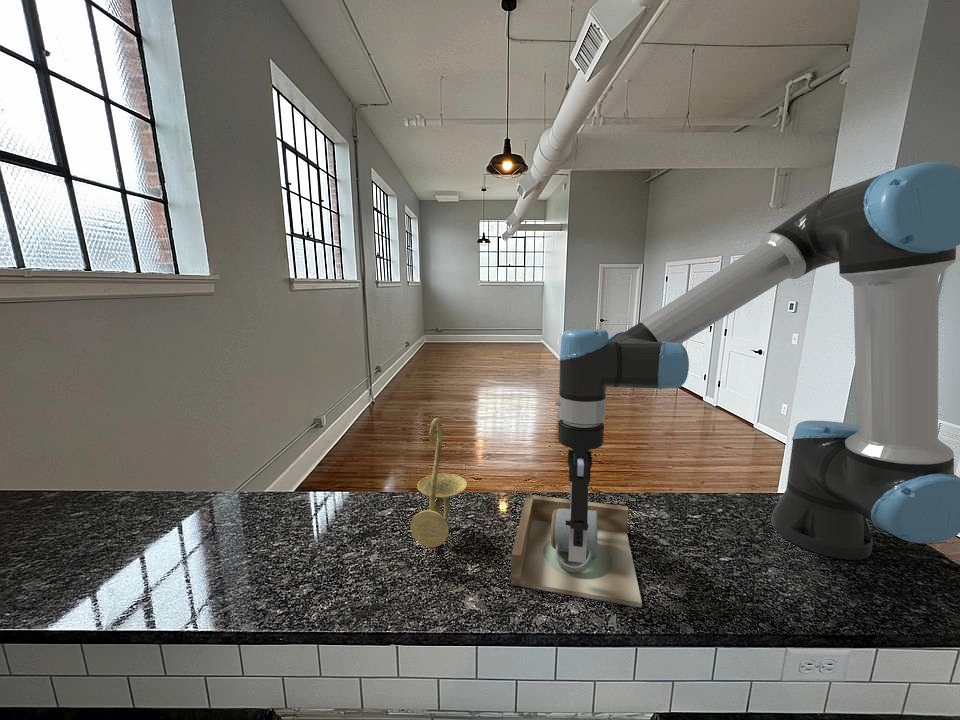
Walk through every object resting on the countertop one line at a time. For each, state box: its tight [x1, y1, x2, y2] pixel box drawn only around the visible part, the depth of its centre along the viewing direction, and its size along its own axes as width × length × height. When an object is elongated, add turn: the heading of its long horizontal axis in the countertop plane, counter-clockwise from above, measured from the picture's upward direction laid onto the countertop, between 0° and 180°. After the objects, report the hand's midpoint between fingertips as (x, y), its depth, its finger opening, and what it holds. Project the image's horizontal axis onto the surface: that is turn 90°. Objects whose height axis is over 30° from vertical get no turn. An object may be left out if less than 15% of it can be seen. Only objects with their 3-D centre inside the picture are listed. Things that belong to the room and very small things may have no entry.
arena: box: [510, 493, 643, 608], centre depth 71 cm, size 20×20×6 cm
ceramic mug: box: [551, 508, 598, 573], centre depth 70 cm, size 11×8×8 cm
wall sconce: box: [410, 417, 468, 548], centre depth 74 cm, size 14×10×25 cm
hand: (576, 536), depth 70 cm, fingers open, 13 cm apart
